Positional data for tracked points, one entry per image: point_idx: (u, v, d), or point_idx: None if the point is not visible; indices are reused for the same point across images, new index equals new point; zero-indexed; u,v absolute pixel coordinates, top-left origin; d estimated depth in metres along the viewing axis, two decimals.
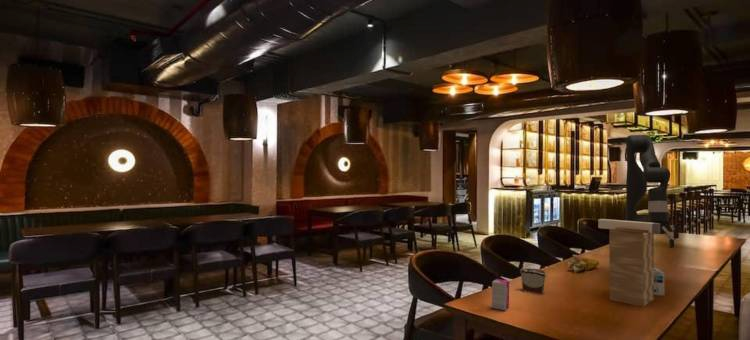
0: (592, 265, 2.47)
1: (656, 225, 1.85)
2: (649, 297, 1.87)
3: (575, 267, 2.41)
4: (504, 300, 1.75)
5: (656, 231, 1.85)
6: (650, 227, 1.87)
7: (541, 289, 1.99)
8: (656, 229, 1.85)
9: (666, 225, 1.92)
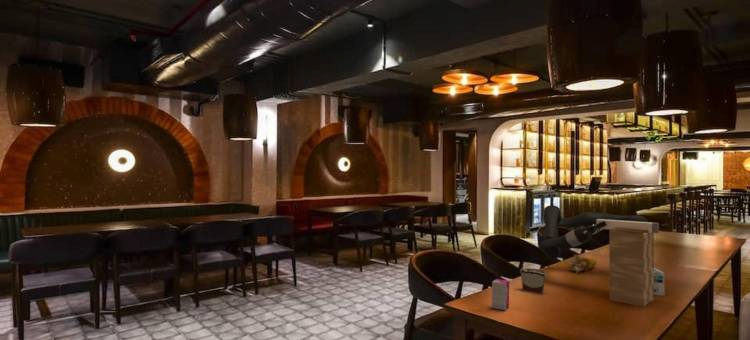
0: (591, 265, 2.48)
1: (656, 225, 1.86)
2: (649, 297, 1.87)
3: (577, 267, 2.41)
4: (504, 300, 1.75)
5: (656, 231, 1.86)
6: (650, 227, 1.87)
7: (541, 289, 1.99)
8: (656, 229, 1.86)
9: None
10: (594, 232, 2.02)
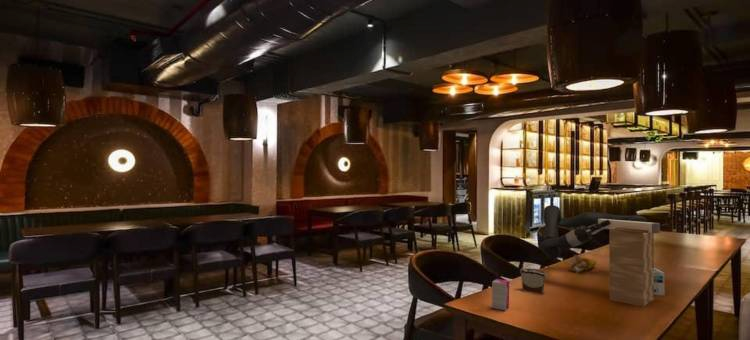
0: (591, 265, 2.48)
1: (656, 225, 1.85)
2: (649, 297, 1.87)
3: (577, 267, 2.41)
4: (504, 300, 1.75)
5: (656, 231, 1.85)
6: (650, 227, 1.87)
7: (541, 289, 1.99)
8: (656, 229, 1.85)
9: None
10: (596, 231, 2.03)
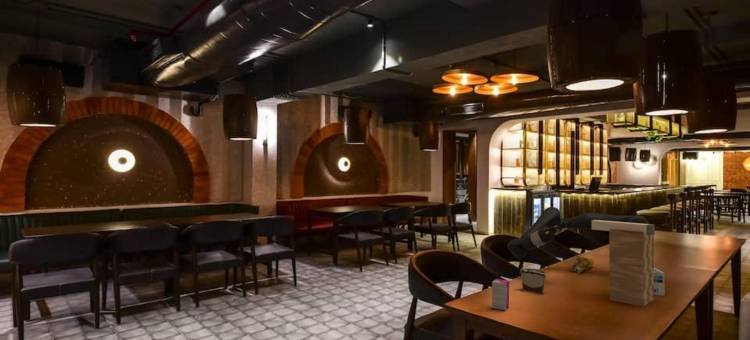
0: (590, 264, 2.49)
1: (650, 226, 1.81)
2: (649, 297, 1.87)
3: (579, 267, 2.40)
4: (504, 300, 1.75)
5: (650, 233, 1.81)
6: (644, 228, 1.82)
7: (541, 289, 1.99)
8: (650, 230, 1.81)
9: None
10: (556, 233, 2.14)
